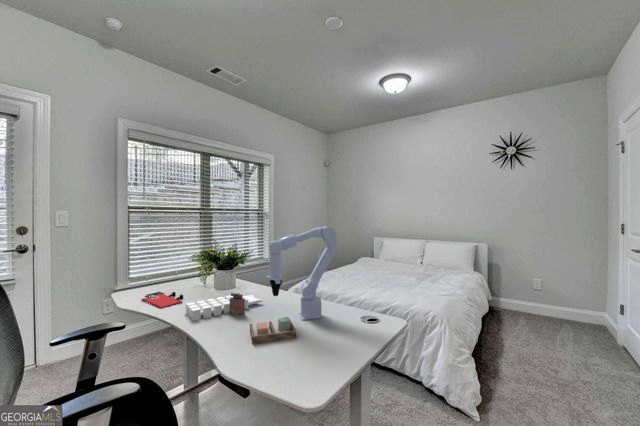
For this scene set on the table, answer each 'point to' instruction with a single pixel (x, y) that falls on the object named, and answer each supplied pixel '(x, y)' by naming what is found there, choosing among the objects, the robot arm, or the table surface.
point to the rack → (272, 334)
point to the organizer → (215, 306)
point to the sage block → (284, 324)
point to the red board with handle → (162, 299)
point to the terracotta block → (262, 328)
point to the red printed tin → (237, 304)
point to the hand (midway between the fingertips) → (275, 295)
